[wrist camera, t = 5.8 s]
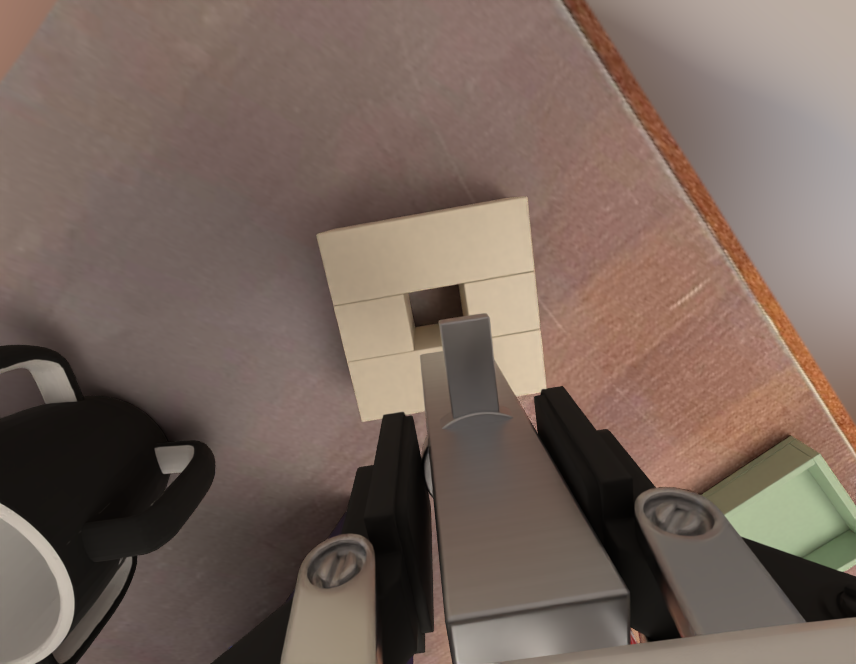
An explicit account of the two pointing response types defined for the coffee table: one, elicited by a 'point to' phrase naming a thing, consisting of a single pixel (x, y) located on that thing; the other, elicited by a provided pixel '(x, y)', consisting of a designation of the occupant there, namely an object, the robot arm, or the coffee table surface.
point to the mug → (81, 508)
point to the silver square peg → (507, 518)
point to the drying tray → (791, 505)
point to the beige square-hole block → (426, 269)
